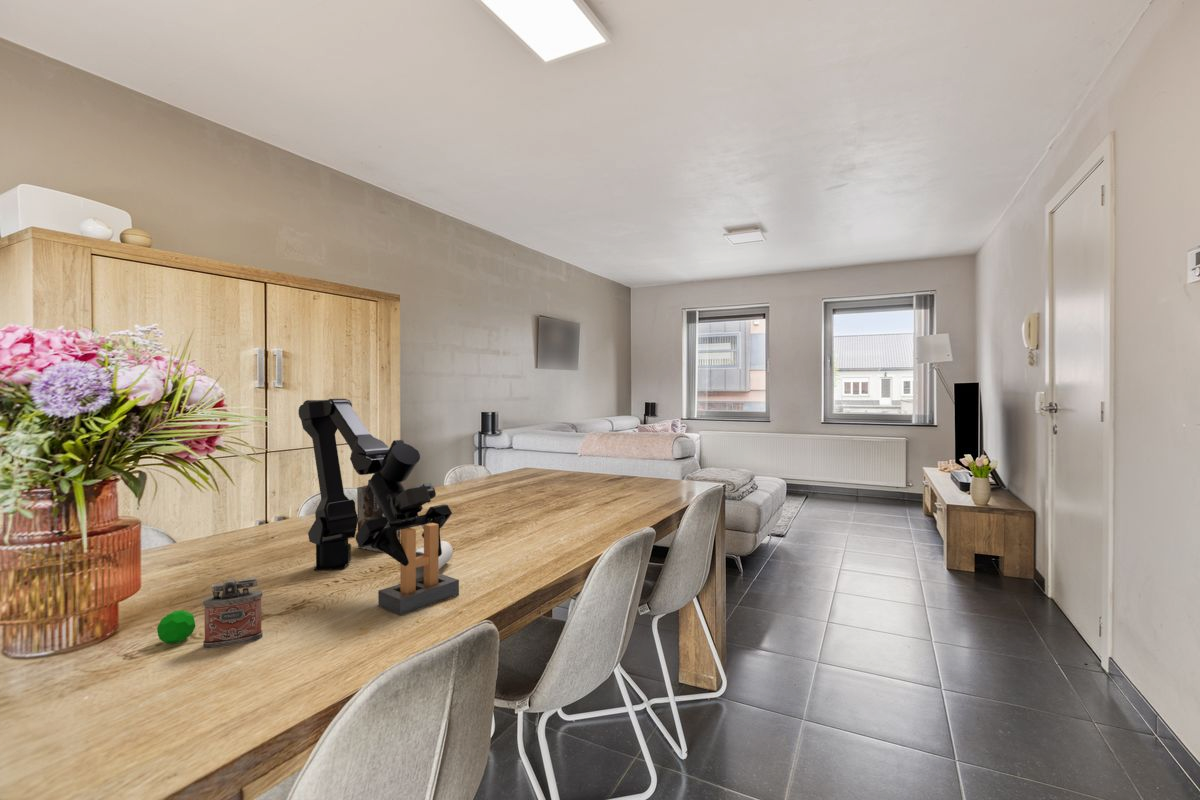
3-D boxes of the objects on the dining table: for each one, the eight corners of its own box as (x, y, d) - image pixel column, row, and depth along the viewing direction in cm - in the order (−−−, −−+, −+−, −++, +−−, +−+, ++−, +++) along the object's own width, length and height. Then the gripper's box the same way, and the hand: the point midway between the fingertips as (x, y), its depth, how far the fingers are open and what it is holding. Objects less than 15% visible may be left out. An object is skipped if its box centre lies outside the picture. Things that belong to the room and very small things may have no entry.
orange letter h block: (406, 599, 104) (406, 531, 104) (400, 597, 105) (400, 529, 105) (438, 589, 109) (438, 524, 109) (432, 586, 111) (432, 522, 110)
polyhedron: (179, 648, 87) (179, 618, 87) (148, 648, 87) (148, 618, 87) (202, 634, 92) (202, 606, 92) (173, 634, 92) (173, 606, 92)
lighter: (201, 651, 86) (201, 587, 86) (205, 642, 89) (204, 581, 89) (261, 640, 90) (261, 579, 90) (263, 632, 93) (263, 573, 93)
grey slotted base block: (400, 615, 100) (400, 599, 100) (378, 606, 104) (378, 590, 104) (458, 594, 110) (458, 579, 110) (436, 586, 115) (436, 572, 115)
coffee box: (401, 546, 144) (401, 485, 144) (382, 553, 138) (382, 489, 138) (376, 542, 148) (376, 482, 148) (356, 548, 142) (356, 486, 142)
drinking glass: (457, 564, 130) (433, 582, 116) (430, 566, 131) (402, 584, 116) (455, 536, 131) (431, 549, 116) (428, 537, 131) (400, 552, 116)
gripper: (363, 476, 102) (397, 546, 95) (446, 466, 117) (481, 525, 110) (341, 513, 107) (372, 581, 100) (424, 498, 122) (455, 557, 115)
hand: (424, 559), depth 106 cm, fingers closed on orange letter h block, 7 cm apart
